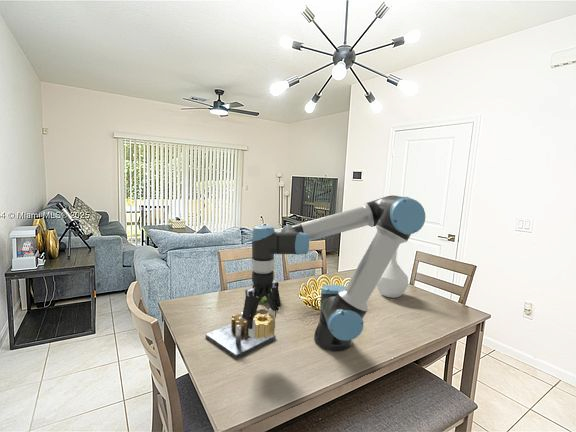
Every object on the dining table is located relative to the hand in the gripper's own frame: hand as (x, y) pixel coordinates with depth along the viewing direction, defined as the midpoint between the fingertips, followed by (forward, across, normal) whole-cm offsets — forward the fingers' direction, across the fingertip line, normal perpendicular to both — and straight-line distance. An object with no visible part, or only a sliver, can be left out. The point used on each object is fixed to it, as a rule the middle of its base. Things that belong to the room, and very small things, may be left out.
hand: (262, 331), depth 108 cm
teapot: (+11, -38, -40) cm, 56 cm away
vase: (+13, -98, +4) cm, 98 cm away
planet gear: (0, 0, 0) cm, 0 cm away
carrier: (+10, -4, -16) cm, 20 cm away
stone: (+11, -22, -28) cm, 37 cm away
